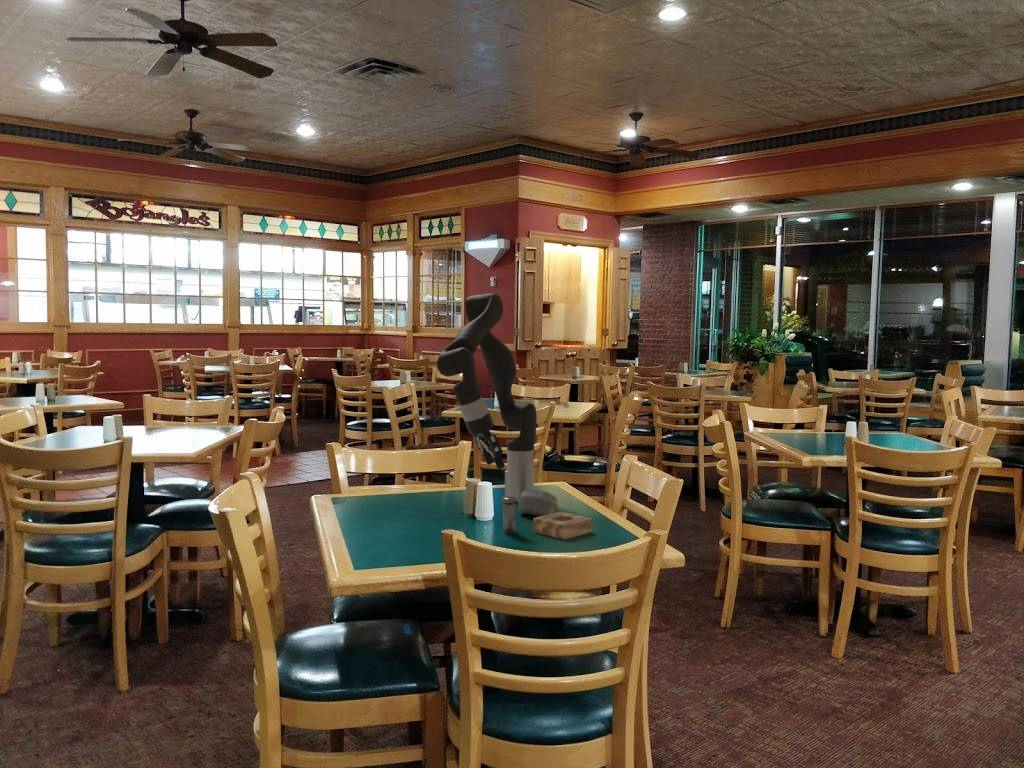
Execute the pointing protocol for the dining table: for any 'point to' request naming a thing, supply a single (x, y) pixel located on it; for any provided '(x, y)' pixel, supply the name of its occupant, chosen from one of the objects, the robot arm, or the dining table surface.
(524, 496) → the grey rounded rock
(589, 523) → the block
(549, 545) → the dining table surface
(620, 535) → the dining table surface
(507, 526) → the pin
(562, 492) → the dining table surface
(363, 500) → the dining table surface
